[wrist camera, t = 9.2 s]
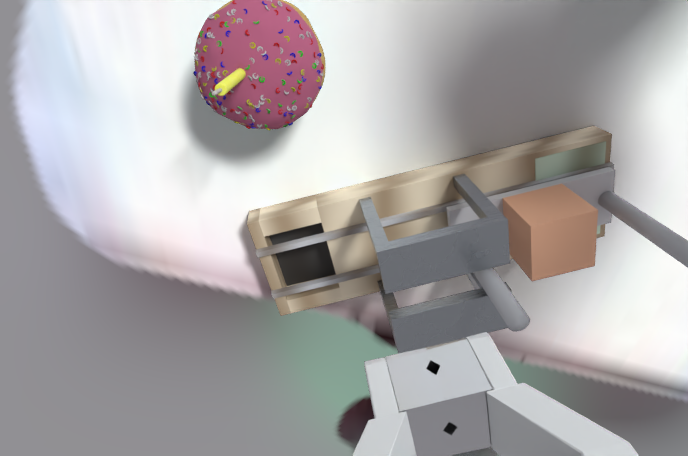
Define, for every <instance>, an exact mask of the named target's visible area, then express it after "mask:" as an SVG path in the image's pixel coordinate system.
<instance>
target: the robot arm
mask: <svg viewBox="0 0 688 456" xmlns="http://www.w3.org/2000/svg"><path fill="white" fill-rule="evenodd" d="M386 362H387V363H386ZM387 366H388V367H387ZM388 370H389V371H388ZM365 372H366V376H367V382H368V387H369V392H370V397H371V402H372V407H373V412H374V418H375V419H371V420H368V423H367V425H366V427H365V429H364V431H363V433H362V436H361V438H360V440H359V442H358V444H357V446H356V449H355V451H354V453H353V455H352V456H451V455H454V454H459V453H464V452H469V451H473V450H478V449H483V448H488V447H492V449H493V450H494V451H495V452H497V453H498V454H499V455H500V456H639V455H638V454H637V452H636V451H635V450H634V448H633V447H632V446H631V444H630V443H629V442H628V441H626V440H624V439H622V438H621V437H619V436H617V435H615V434H613V433H612V432H610V431H608V430H607V429H605V428H603V427H601V426H599V425H598V424H596V423H594V422H592V421H591V420H589V419H587V418H585V417H583V416H582V415H580V414H578V413H576V412H575V411H573V410H571V409H569V408H568V407H566V406H564V405H562V404H561V403H559V402H557V401H556V400H554V399H552V398H550V397H548V396H547V395H545V394H543V393H541V392H540V391H538V390H536V389H534V388H532V387H531V386H529V385H527V384H526V383H521V384H517V382H516V380H515V378H514V377H513V375H512V373H511V372H510V370H509V368H508V366H507V365H506V363H505V361H504V359H503V357H502V356H501V354H500V352H499V351H498V349H497V347H496V345H495V344H494V342H493V340H492V338H491V337H490V335H489V334H488V333H486V332H484V333H480V334H476V335H472V336H469V337H466V338H461V339H457V340H453V341H449V342H445V343H441V344H437V345H433V346H429V347H425V348H422V349H418V350H413V351H409V352H404V353H399V354H395V355H390V356H386V359H385V357H383V358H378V359H374V360H369V361H365Z"/></svg>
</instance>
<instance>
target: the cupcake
mask: <svg viewBox="0 0 688 456" xmlns="http://www.w3.org/2000/svg"><path fill="white" fill-rule="evenodd" d="M194 54H195V71H194V75H195V74H196V75H195V76H196V78H197V83H198V87H199V89H200V92H201V98H202V99H205V100H206V103H207V104H208V105H210V106H211V107H212V109H213V110H214V112H217V113H218V114H220V115H222V116H224V117H226V118H228V119H230V120H233V121H234V122H235V123H239V124H241V125H244V126H246V127H247V128H248V127H249V128H248V129H250V128H258V129H267V130H270V129H279V128H282V127H286V126H287V125H292V124H293V122H294V121H295V120H297V119H298V118H300V117H301V116H303V115H304V114H305V113H306V112H307V111H308V110H309V108H311V107H312V104H313V102H314V101H315V99H316V97H317V95H318V93H319V91H320V89H321V88H322V85H323V82H324V77H325V57H324V53H323V49H322V46H321V44H320V42H319V40H318V38H317V36H316V34H315V32H314V30H313V28H312V26H311V24H310V22H309V20H308V18H307V17H306V16H305V15H304V14H303V13H302V12H301V11H300V10H299V9H298V8H297V7H296V6H294V5H293V4H291V3H289V2H286V1H283V0H232V1H230V2H228V3H227V4H225V5H224V6H222V7H221V8H220V9H219V10H217V11H216V12H215V13H213V14H211V15H209V17H208V18H207V20H206V21H205V23H204V25H203V27H202V29H201V31H200V32H199V35H198V38H197V42H196V47H195V52H194ZM203 97H204V98H203Z"/></svg>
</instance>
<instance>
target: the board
mask: <svg viewBox="0 0 688 456" xmlns="http://www.w3.org/2000/svg"><path fill="white" fill-rule="evenodd" d="M611 138H612V134H611V133H609V132H606V131H604V130H602V129H600V128H598V127H596V126H591V127H587V128H583V129H579V130H575V131H571V132H567V133H562V134H558V135H554V136H550V137H546V138H542V139H538V140H534V141H530V142H526V143H522V144H518V145H514V146H510V147H506V148H502V149H498V150H494V151H490V152H486V153H482V154H478V155H474V156H470V157H466V158H462V159H458V160H454V161H450V162H446V163H442V164H437V165H433V166H429V167H425V168H421V169H417V170H413V171H409V172H405V173H401V174H397V175H393V176H389V177H385V178H381V179H377V180H373V181H369V182H365V183H361V184H357V185H353V186H349V187H345V188H341V189H337V190H333V191H329V192H325V193H321V194H317V195H312V196H308V197H304V198H300V199H296V200H292V201H288V202H284V203H280V204H276V205H272V206H268V207H264V208H260V209H256V210H252V211H249V215H248V221H247V226H248V229H249V231H250V234H251V237H252V239H253V242H254V245H255V247H256V255H257V258H260V261H261V264H262V266H263V269H264V272H265V274H266V277H267V280H268V283H269V285H270V288H271V295H272V298H273V299H275V301H276V304H277V307H278V310H279V312H280V315H281V316H282V315H286V314H290V313H294V312H298V311H302V310H306V309H310V308H315V307H319V306H323V305H327V304H331V303H335V302H339V301H343V300H347V299H351V298H355V297H359V296H363V295H367V294H371V293H375V292H379V286H378V282H377V281H379V280H382V279H381V274H380V269H379V265H378V260H377V256H376V253H375V250H374V247H373V244H372V241H371V238H370V235H369V232H368V229H367V226H366V223H365V220H364V217H363V214H362V211H361V206H360V202H359V199H363V198H367V197H371V199H372V201H373V204H374V206H375V209H376V211H377V214H378V217H379V219H380V222H381V224H382V227H383V229H384V232H385V234H386V237H387V239H388V241H392V240H396V239H400V238H404V237H408V236H412V235H416V234H420V233H424V232H428V231H432V230H436V229H440V228H444V227H448V218H447V210H446V207H449V206H453V205H457V204H461V203H465V202H466V201H465V200H464V199H463V198H462V196H461V195H460V194H459V193H458V191H457V190H456V189H455V188H454V183H453V176H456V175H460V174H464V173H465V174H466V176H467V177H468V178H469V179H470V180H471V181H472V182H473V183H474V184H475V185H476V186H477V187H478V188H479V189H480V190H481V192H482V193H483V194H484V195H485V196H486V197H489V196H493V195H497V194H501V193H505V192H509V191H513V190H517V189H521V188H526V187H530V186H534V185H538V184H542V183H546V182H550V181H554V180H558V179H562V178H566V177H570V176H574V175H578V174H582V173H586V172H590V171H594V170H598V169H602V168H606V167H610V168H612V169H614V164H613V163H611V162H610V152H611ZM604 234H605V224H603V225H599V226H597V236H596V238H599V237H603V236H604ZM510 259H513V258H512V256H511V255H510Z"/></svg>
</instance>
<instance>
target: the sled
mask: <svg viewBox="0 0 688 456" xmlns="http://www.w3.org/2000/svg"><path fill="white" fill-rule="evenodd" d="M614 179H615V170H614V169H612V168H610V167H606V168H602V169H598V170H594V171H590V172H586V173H582V174H578V175H574V176H570V177H566V178H562V179H558V180H554V181H550V182H546V183H542V184H538V185H534V186H530V187H526V188H521V189H517V190H513V191H509V192H505V193H501V194H497V195H493V196H489V197H487V198H488V199H489V200H490V201H491V202H492V203H493V204H494V205H495V207H496V208H497V209H498V210H499V211H500V212H501V213H502V214H503V215H504V216H505V217H506V218H507V219H508V230H509V251H510V255H511V256H512V258H513V259H514V260H515V261H516V262H517V264H518V265H519V266H520V267H521V269H522V270H523V271H524V272H525V273H526V275H527V276H528V277H529V278H530V279H531V281H535V280H539V279H543V278H547V277H551V276H556V275H560V274H564V273H568V272H572V271H576V270H580V269H584V268H588V267H592V266H595V252H596V236H597V226H599V225H603V224H607V223H611V217H612V214H613V215H614V216H616V217H617V218H619V219H620V220H621V221H623V222H624V223H626V224H627V225H628V226H630V227H631V228H633V229H634V230H636V231H637V232H638V233H640V234H641V235H643V236H644V237H645V238H647V239H648V240H650V241H651V242H652V243H654V244H655V245H657V246H658V247H660V248H661V249H662V250H664V251H665V252H667V253H668V254H669V255H671V256H672V257H674V258H675V259H676V260H678V261H679V262H681V263H682V264H683V265H685V266H686V267H688V241H687V240H686V239H684V238H683V237H681V236H680V235H678V234H676V233H675V232H673V231H672V230H670V229H669V228H667V227H666V226H664V225H662V224H661V223H659V222H658V221H656V220H655V219H653V218H652V217H650V216H648V215H647V214H645V213H644V212H642V211H641V210H639V209H638V208H636V207H634V206H633V205H631V204H630V203H628V202H627V201H625V200H624V199H622V198H620V197H619V196H617V195H616V194H614V193H613V192H614ZM446 210H447V218H448V226H452V225H457V224H461V223H465V222H469V221H473V220H477V219H480V218H479V217H478V216H477V215H476V213H475V212H474V211H473V210H472V208H471V207H470V206H469V205H468V204H467V202H465V203H461V204H457V205H453V206H449V207H446ZM473 273H474V275H475V276H476V278H477V279H478V281H479V282H480V284H481V286H482V287H483V289H484V290H485V292H486V293H487V295H488V296H489V298H490V300H491V301H492V303H493V304H494V306H495V307H496V309H497V310H498V312H499V314H500V315H501V317H502V318H503V320H504V321H505V323H506V324H507V326H508V327H509V329H510V330H512V331H521V330H523V329H525V328H526V327H527V326H528V324H529V322H530V319H529V317H528V315H527V314H526V313H525V311H524V310H523V308H522V307H521V306H520V304H519V303H518V301H517V300H516V299H515V297H514V296H513V295H512V293H511V292H510V290H509V289H508V288H507V286H506V285H505V284H504V282H503V281H502V279H501V278H500V277H499V275H498V274H497V273H496V271H495V270H494V268H489V269H485V270H481V271H477V272H473Z"/></svg>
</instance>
